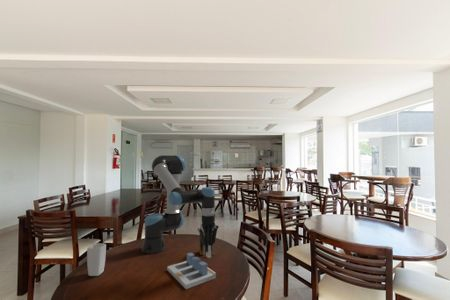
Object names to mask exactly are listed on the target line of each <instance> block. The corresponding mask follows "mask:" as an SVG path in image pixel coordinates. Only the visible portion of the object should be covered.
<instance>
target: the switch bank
mask: <svg viewBox="0 0 450 300" xmlns="http://www.w3.org/2000/svg"><path fill="white" fill-rule="evenodd" d="M166 267H167V269H166V270H167V271H168V273H169V274H170V275H171V276H173V278H174V279H175V280H176V281H177V282H178V283H180V284H179V285H181V286H182V287H183V288H184V289H185V290H188V289H191V288H193V287H196V286H199V285H201V284H204V283H206V282H209V281H212V280H215V279H216V278H217V274H216V273H217V272H215V271H214V270H213V269H211V268H209V267H208V274H206V275H203V276H202V275H201V274H200V273H199V269H198V270H195V269H194V268H193V267H192V265H189V264H188V263H187V260H184V261H182V262H178V263H175V264H170V265H168V266H166Z"/></svg>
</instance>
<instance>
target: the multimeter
mask: <svg viewBox="0 0 450 300" xmlns="http://www.w3.org/2000/svg"><path fill="white" fill-rule="evenodd" d="M200 228H201V226H200ZM200 228H199V229H200ZM203 234H204V230H203ZM199 255H200V256H201V257H202V258H203V259H206V258H207V257H206V256H204V255H206V251H205V246H204V245H202V243H201V238H200V237H199ZM211 255H214V256H215V254H214V253H212V252H211Z"/></svg>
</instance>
